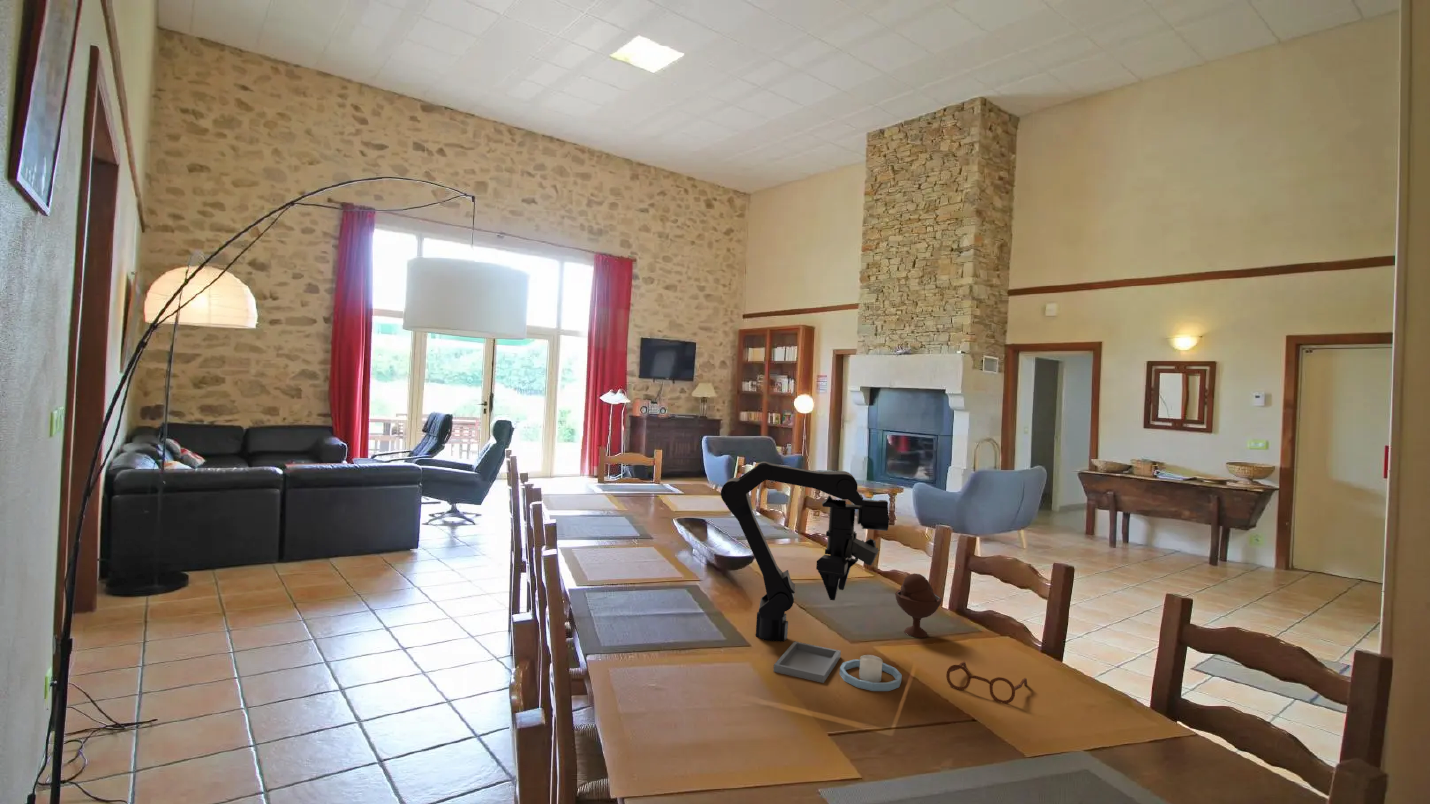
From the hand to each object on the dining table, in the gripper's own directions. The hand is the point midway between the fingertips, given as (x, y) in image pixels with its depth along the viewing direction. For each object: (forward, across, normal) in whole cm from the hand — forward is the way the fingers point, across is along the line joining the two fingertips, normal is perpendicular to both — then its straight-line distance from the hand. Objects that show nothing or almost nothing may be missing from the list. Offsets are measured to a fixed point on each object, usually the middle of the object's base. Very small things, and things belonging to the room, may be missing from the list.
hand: (837, 594), depth 157 cm
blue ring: (+12, -15, -11) cm, 22 cm away
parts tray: (+12, -15, +2) cm, 19 cm away
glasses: (+13, -4, -33) cm, 35 cm away
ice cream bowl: (+12, +20, -16) cm, 28 cm away
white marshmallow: (+11, -15, -11) cm, 22 cm away
